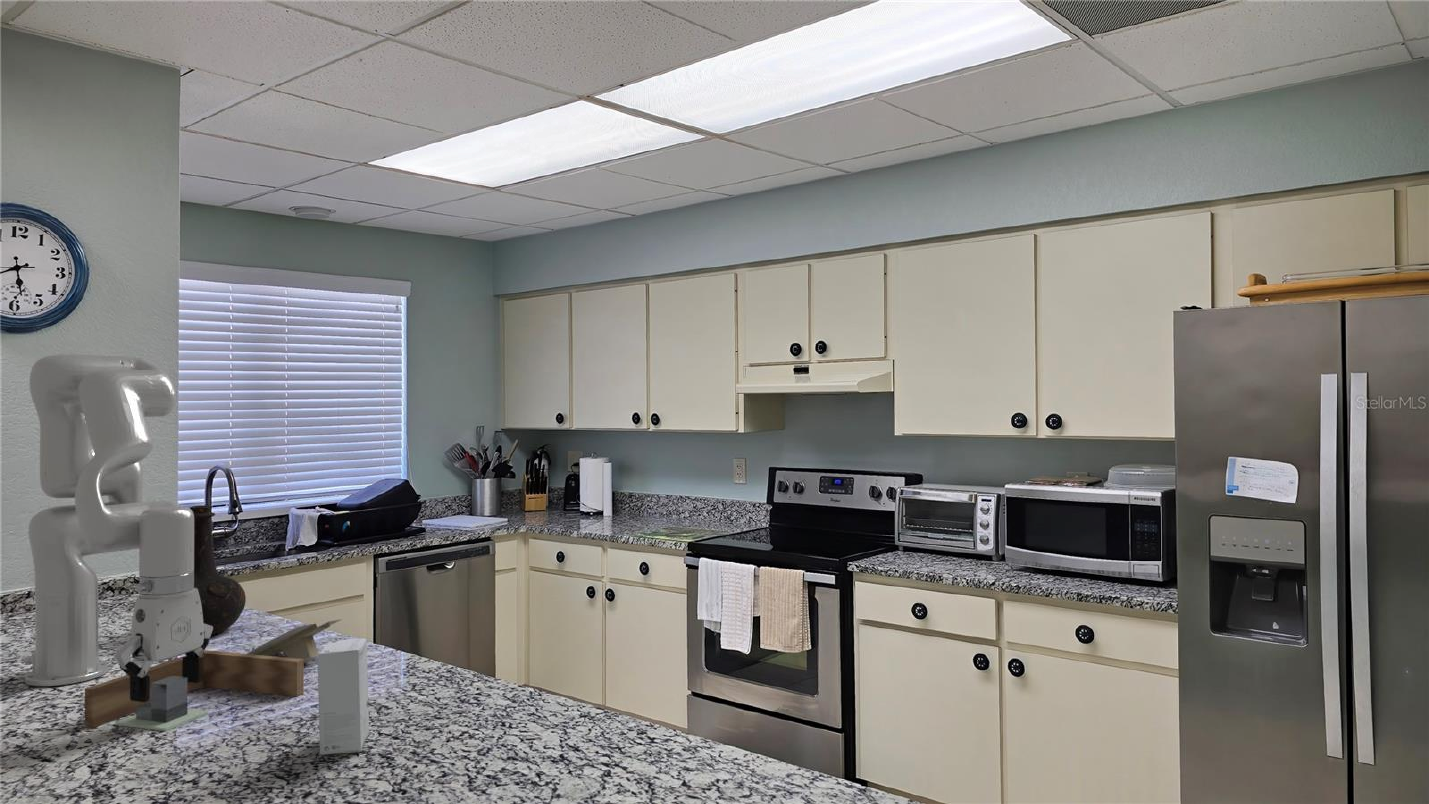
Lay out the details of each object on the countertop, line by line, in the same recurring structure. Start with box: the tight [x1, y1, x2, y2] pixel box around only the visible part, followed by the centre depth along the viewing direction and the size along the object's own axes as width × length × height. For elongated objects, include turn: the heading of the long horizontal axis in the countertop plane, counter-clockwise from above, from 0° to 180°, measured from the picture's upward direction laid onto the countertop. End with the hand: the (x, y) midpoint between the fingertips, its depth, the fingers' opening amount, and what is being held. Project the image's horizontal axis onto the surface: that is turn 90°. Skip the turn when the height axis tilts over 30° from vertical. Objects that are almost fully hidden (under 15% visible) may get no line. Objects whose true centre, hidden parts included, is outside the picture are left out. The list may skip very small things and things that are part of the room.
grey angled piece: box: [246, 619, 342, 664], centre depth 175 cm, size 16×9×15 cm
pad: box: [115, 708, 209, 732], centre depth 145 cm, size 10×8×1 cm
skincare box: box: [317, 637, 370, 756], centre depth 135 cm, size 8×6×15 cm
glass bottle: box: [188, 504, 246, 636], centre depth 199 cm, size 18×18×28 cm
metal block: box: [135, 676, 188, 723], centre depth 145 cm, size 4×6×6 cm, turn 75°
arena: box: [84, 649, 305, 729], centre depth 150 cm, size 22×23×6 cm
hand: (166, 691), depth 145 cm, fingers open, 9 cm apart
